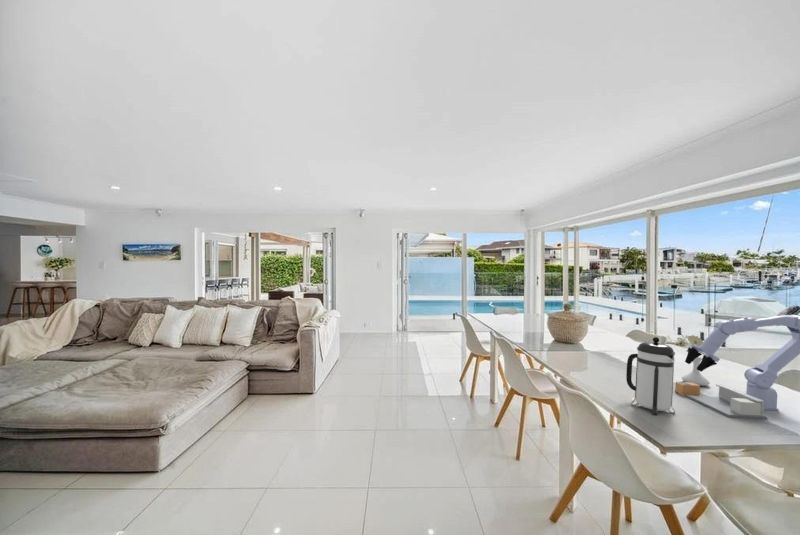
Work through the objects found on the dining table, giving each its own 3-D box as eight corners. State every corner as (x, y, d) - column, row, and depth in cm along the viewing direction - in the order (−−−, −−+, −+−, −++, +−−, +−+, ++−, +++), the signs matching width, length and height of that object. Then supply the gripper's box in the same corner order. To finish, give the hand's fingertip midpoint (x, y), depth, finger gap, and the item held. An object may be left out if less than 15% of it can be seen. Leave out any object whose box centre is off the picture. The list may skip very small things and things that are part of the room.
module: (692, 393, 172) (693, 382, 172) (699, 396, 168) (700, 385, 168) (675, 391, 173) (675, 381, 173) (681, 395, 168) (682, 384, 168)
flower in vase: (715, 388, 180) (717, 339, 180) (690, 386, 182) (692, 337, 182) (698, 380, 193) (700, 334, 193) (674, 378, 195) (677, 332, 195)
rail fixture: (720, 399, 165) (720, 383, 165) (767, 419, 143) (768, 402, 143) (686, 397, 166) (687, 382, 166) (728, 417, 144) (729, 399, 144)
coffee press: (673, 407, 151) (677, 337, 151) (676, 420, 138) (680, 342, 138) (625, 397, 161) (628, 331, 161) (623, 408, 148) (627, 336, 148)
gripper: (693, 333, 171) (674, 355, 174) (717, 345, 157) (696, 369, 159) (706, 340, 171) (687, 363, 174) (731, 353, 157) (710, 377, 159)
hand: (692, 366), depth 167 cm, fingers open, 7 cm apart
